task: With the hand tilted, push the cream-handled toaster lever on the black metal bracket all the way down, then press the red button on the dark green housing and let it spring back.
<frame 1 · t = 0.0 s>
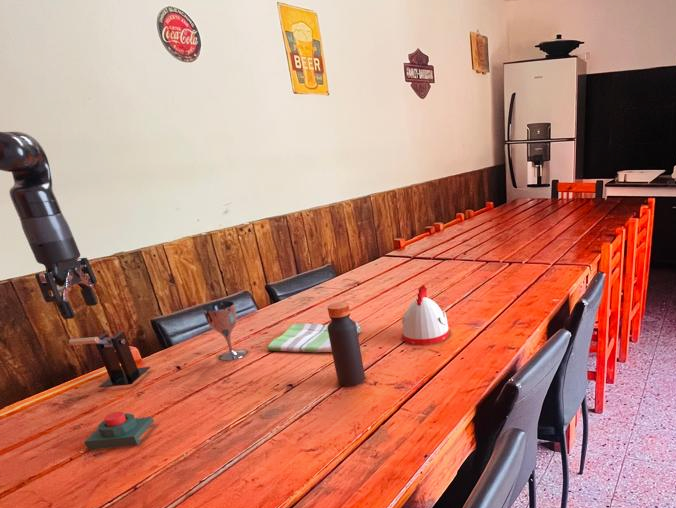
hand: (81, 311, 113), 24 cm above the table, tool pointing down, fingers open, 8 cm apart
dish towel: (316, 342, 154), on the table
kitchen timer: (426, 335, 154), on the table
button housing: (122, 437, 110), on the table
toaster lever: (99, 341, 127), point 13 cm above the table, hinge at 25.0°
wine glass: (232, 355, 148), on the table
bottle: (352, 381, 129), on the table
cancel button: (115, 419, 108), point 4 cm above the table, slide at 0.1 cm
toaster bracket: (126, 380, 136), on the table
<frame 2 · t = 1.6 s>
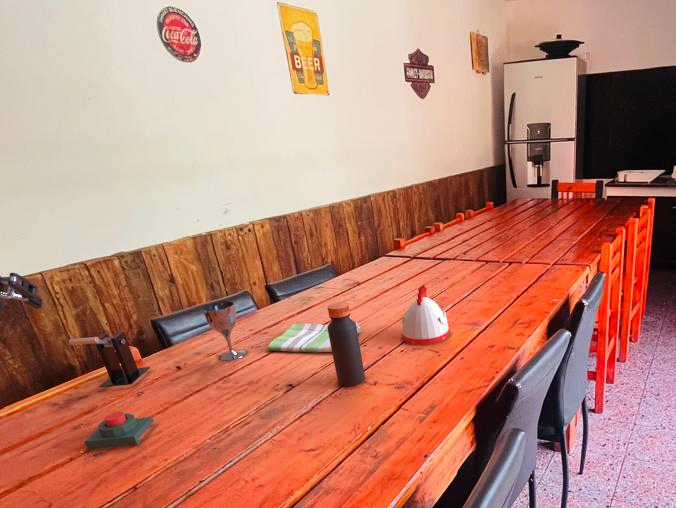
hand: (20, 306, 104), 28 cm above the table, tool tilted 45°, fingers open, 7 cm apart
nothing on the table moved.
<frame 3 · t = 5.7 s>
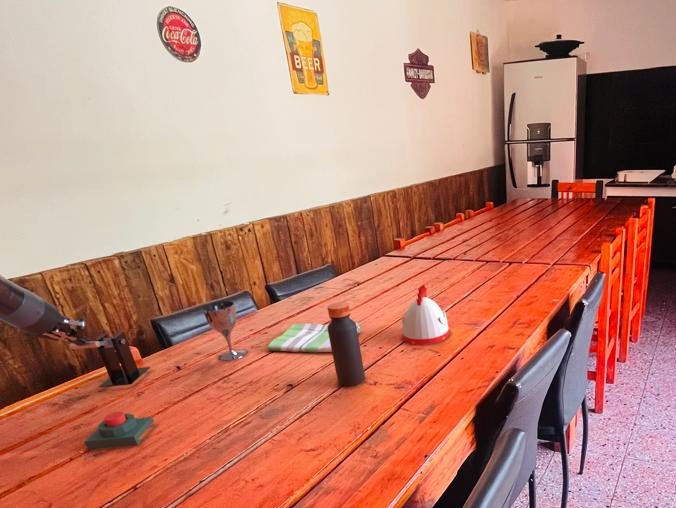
hand: (83, 342, 121), 15 cm above the table, tool tilted 45°, fingers closed
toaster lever: (99, 343, 127), point 13 cm above the table, hinge at 19.2°, touching gripper
everything else where it was.
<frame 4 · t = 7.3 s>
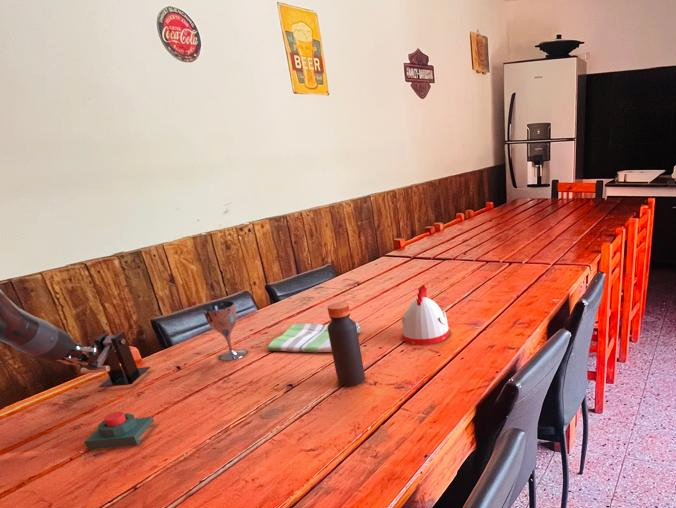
hand: (94, 366, 124), 9 cm above the table, tool tilted 45°, fingers closed
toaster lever: (104, 354, 128), point 10 cm above the table, hinge at -18.7°, touching gripper
everything else where it was.
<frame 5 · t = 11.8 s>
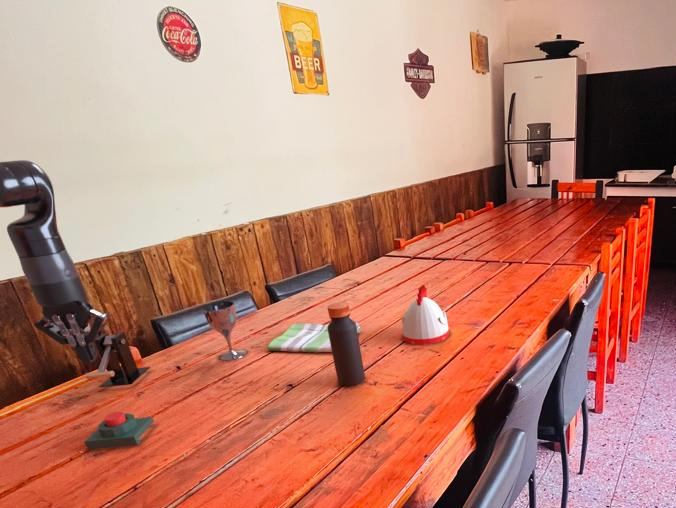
hand: (89, 361, 102), 18 cm above the table, tool pointing down, fingers closed
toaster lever: (106, 357, 129), point 9 cm above the table, hinge at -30.2°
everything else where it was.
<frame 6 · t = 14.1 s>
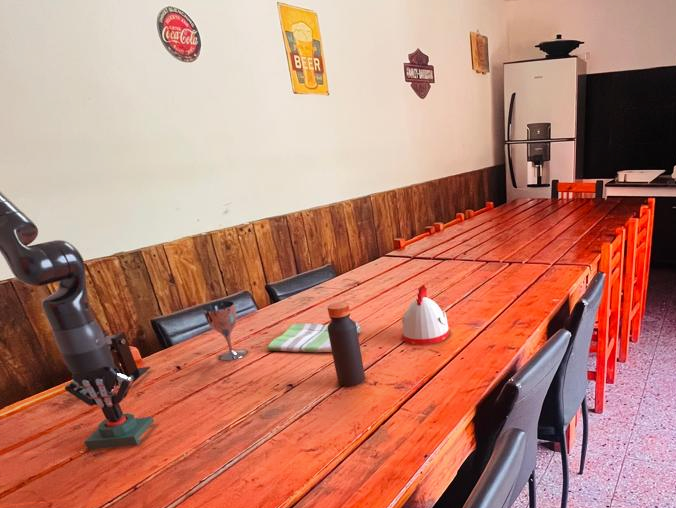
hand: (115, 419, 108), 4 cm above the table, tool pointing down, fingers closed
cancel button: (116, 423, 109), point 4 cm above the table, slide at -0.8 cm, touching gripper
everything else where it was.
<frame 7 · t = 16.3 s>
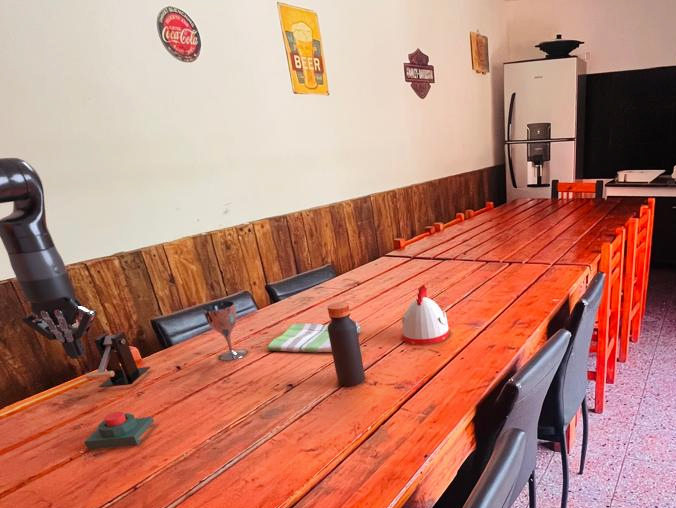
hand: (77, 357, 103), 19 cm above the table, tool pointing down, fingers closed
cancel button: (115, 419, 108), point 4 cm above the table, slide at 0.1 cm
everything else where it was.
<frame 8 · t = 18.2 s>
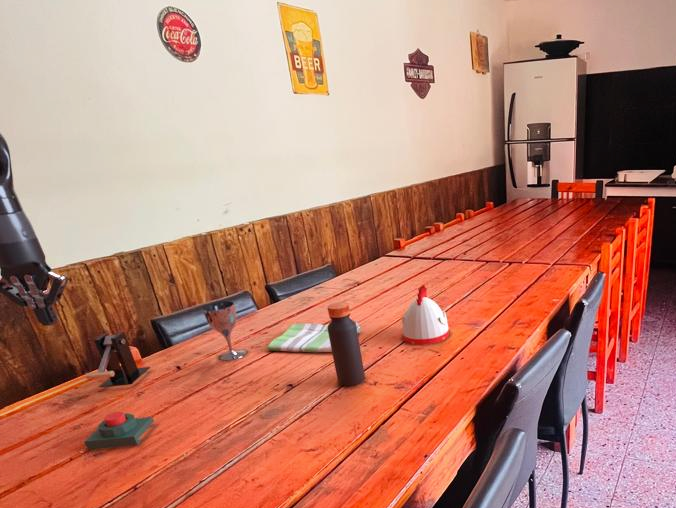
hand: (50, 324, 103), 25 cm above the table, tool pointing down, fingers closed
nothing on the table moved.
at the end: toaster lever at -30° (first picture: +25°); cancel button pushed in 1.1 cm at the most during the clip, back to where it started at the end; cancel button slide at 0.1 cm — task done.
